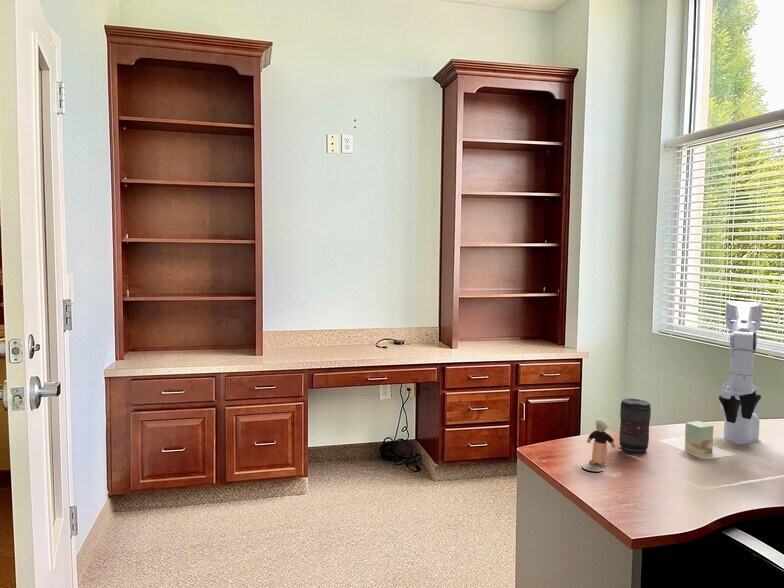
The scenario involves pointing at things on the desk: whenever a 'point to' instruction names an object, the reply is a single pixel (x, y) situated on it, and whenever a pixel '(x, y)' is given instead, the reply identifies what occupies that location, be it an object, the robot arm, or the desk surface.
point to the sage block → (699, 431)
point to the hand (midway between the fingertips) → (738, 420)
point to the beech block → (698, 446)
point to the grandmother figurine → (600, 443)
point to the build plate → (680, 445)
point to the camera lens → (634, 426)
